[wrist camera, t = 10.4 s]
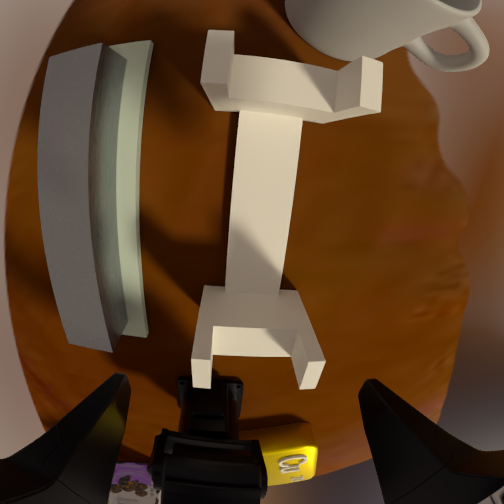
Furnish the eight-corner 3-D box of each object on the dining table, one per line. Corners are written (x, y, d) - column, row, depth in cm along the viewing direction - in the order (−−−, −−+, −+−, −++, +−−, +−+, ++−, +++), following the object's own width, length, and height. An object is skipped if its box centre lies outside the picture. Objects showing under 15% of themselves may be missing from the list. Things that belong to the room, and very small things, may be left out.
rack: (291, 318, 22) (314, 391, 15) (203, 314, 21) (193, 390, 14) (325, 87, 16) (383, 57, 8) (219, 73, 15) (209, 24, 7)
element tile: (195, 430, 29) (193, 460, 24) (312, 416, 29) (320, 446, 24) (221, 469, 35) (221, 491, 30) (310, 458, 35) (315, 481, 30)
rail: (128, 321, 20) (112, 352, 17) (88, 314, 20) (68, 343, 16) (127, 60, 13) (102, 42, 9) (79, 68, 13) (49, 57, 9)
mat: (148, 332, 22) (146, 337, 21) (81, 321, 21) (78, 326, 20) (153, 43, 13) (150, 40, 13) (72, 58, 13) (67, 56, 12)
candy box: (162, 461, 32) (153, 543, 17) (182, 473, 35) (177, 548, 19) (107, 460, 34) (92, 527, 18) (127, 472, 36) (116, 535, 21)
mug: (261, 21, 13) (290, -79, 3) (314, -36, 11) (362, -113, 1) (397, 113, 16) (512, 110, 6) (431, 48, 14) (523, 26, 4)
